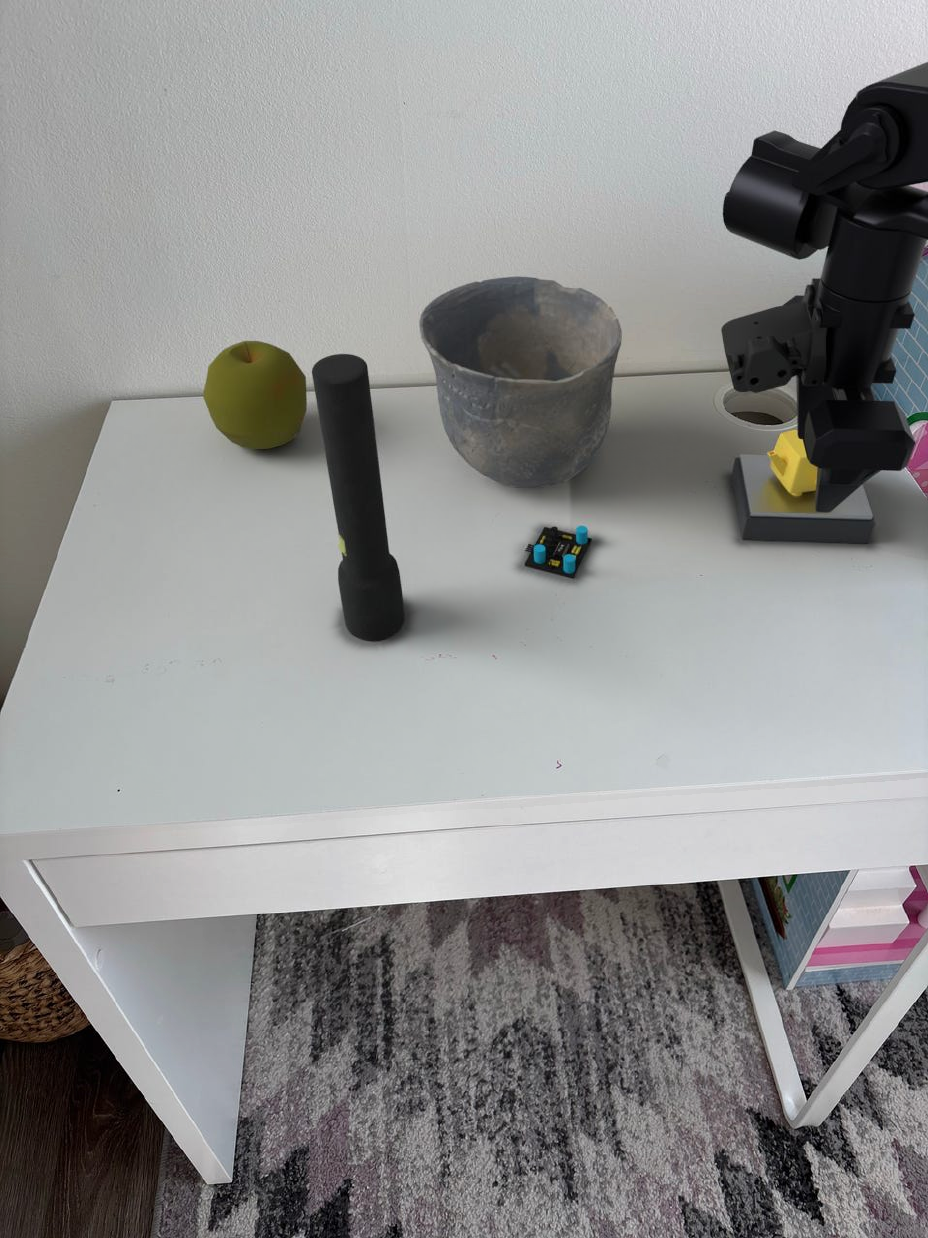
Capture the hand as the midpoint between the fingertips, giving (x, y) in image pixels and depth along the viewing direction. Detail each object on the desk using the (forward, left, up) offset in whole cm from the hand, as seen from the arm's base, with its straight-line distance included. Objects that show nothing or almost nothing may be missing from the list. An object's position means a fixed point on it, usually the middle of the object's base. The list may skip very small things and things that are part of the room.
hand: (813, 473), depth 74 cm
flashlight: (+34, +7, -12) cm, 37 cm away
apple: (+49, -18, -12) cm, 54 cm away
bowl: (+23, -15, -12) cm, 30 cm away
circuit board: (+19, -2, -12) cm, 23 cm away
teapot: (-3, -9, -9) cm, 13 cm away
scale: (-3, -9, -11) cm, 15 cm away
